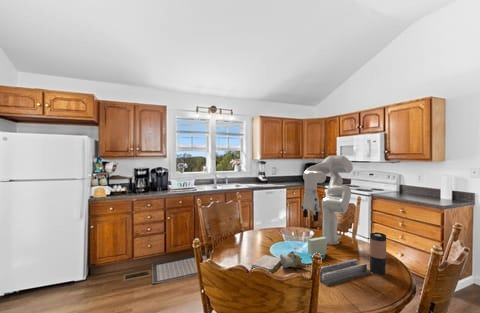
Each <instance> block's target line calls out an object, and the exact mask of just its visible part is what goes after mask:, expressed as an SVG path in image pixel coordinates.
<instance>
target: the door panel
mask: <svg viewBox="0 0 480 313" xmlns="http://www.w3.org/2000/svg"><path fill="white" fill-rule="evenodd" d="M327 245H328V244H327V238H325V237H323V236H320V237H313V238H308V240H307V255H308V254H311V255H313V254H314V253H316V252H317V253H320V254H325V255H327V248H328V247H327Z"/></svg>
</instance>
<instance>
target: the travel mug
mask: <svg viewBox="0 0 480 313" xmlns="http://www.w3.org/2000/svg"><path fill="white" fill-rule="evenodd" d="M386 263H387V234H386V233H383V232H382V233H381V232H370V233H369V270H370V271H371V274H374V275H376V276H377V275H378V276H385V275H386V266H387V264H386Z"/></svg>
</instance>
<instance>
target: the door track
mask: <svg viewBox="0 0 480 313" xmlns="http://www.w3.org/2000/svg"><path fill="white" fill-rule="evenodd" d="M358 262H359V261H358V258H357V259H356V258H353V259H350V260H345V261H342V262H337V263H332V264H329V265H324V266H320V267H321V272H320V282H321V283H323V284H324V285H325V286H327V287H328V286H333V285H336V284H339V283H343V282H347V281H350V280H353V279H357V278H360V277H361V278H362V277H365V276H367V275H371V274H372V272H371V271H370V269H368V264H367V263H366V262H364V263H360V264H358ZM309 273H310V274H311V271H310V272H309Z"/></svg>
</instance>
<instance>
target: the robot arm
mask: <svg viewBox="0 0 480 313" xmlns="http://www.w3.org/2000/svg"><path fill="white" fill-rule="evenodd" d="M353 166H354V165H353V163H352V162H351V160H350V159H349V158H348V157H346V156H344V155H328V156H327V157H326V158H324V159H323V161H322V162H319V163H317V164H314V165H311V166H309V167H308V168H306V169H305V171H304V172H303V174H302V179H303V180H304V191H303V192H304V194H303V201H302V202H301V203H300V204H301V208H302V217H303V219H304V218H305V219H306V218H308V217H309V215H308V214H309V211H310V212H312V213H313V215H312V216H313V217H312V219H313V220H312V221H313V222H314V223H315V222H319V214H320V213H321V210H322V237H325V238H327V245H332V246H335V245H338V244H340V241H339V239H342V235H338V217H337V215H336V213H339V214H345V213H347V211H348V209H349V204H350V200H351V198H352V189H351V187H350V186H348V185H346V184H345V185H344V184H343V177H342V176H341V175H340V174H339V173H341V174H350V173H352V171H353V168H354V167H353ZM326 174H329V176H330V180H329V183H328V187H327V190H326V191H327V195H328V196H327V197H326V196H325V197H324V198H322V200H321V207H320V202H319V195H318V184H323V183H325V181H326V180H327V175H326Z"/></svg>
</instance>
